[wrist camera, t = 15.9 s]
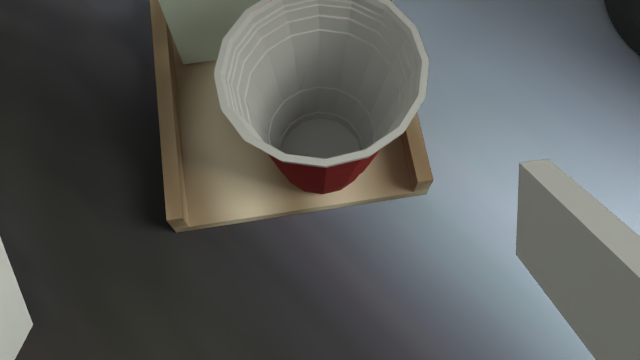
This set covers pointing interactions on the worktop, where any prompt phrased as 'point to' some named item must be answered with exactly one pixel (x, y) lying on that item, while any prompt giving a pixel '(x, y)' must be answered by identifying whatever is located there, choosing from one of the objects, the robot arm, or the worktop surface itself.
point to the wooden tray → (249, 155)
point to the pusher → (201, 25)
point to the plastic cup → (321, 84)
